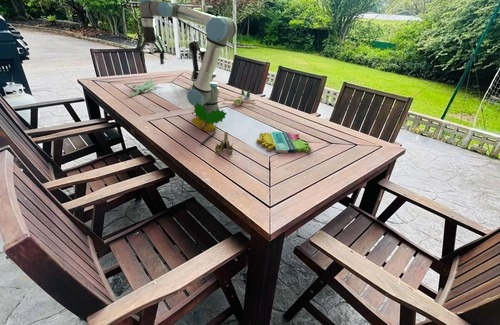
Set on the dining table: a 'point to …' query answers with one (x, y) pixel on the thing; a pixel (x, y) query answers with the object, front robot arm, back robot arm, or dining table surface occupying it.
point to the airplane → (143, 87)
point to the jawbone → (224, 145)
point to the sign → (283, 142)
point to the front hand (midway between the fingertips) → (152, 63)
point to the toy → (241, 99)
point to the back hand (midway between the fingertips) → (205, 84)
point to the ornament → (207, 117)
